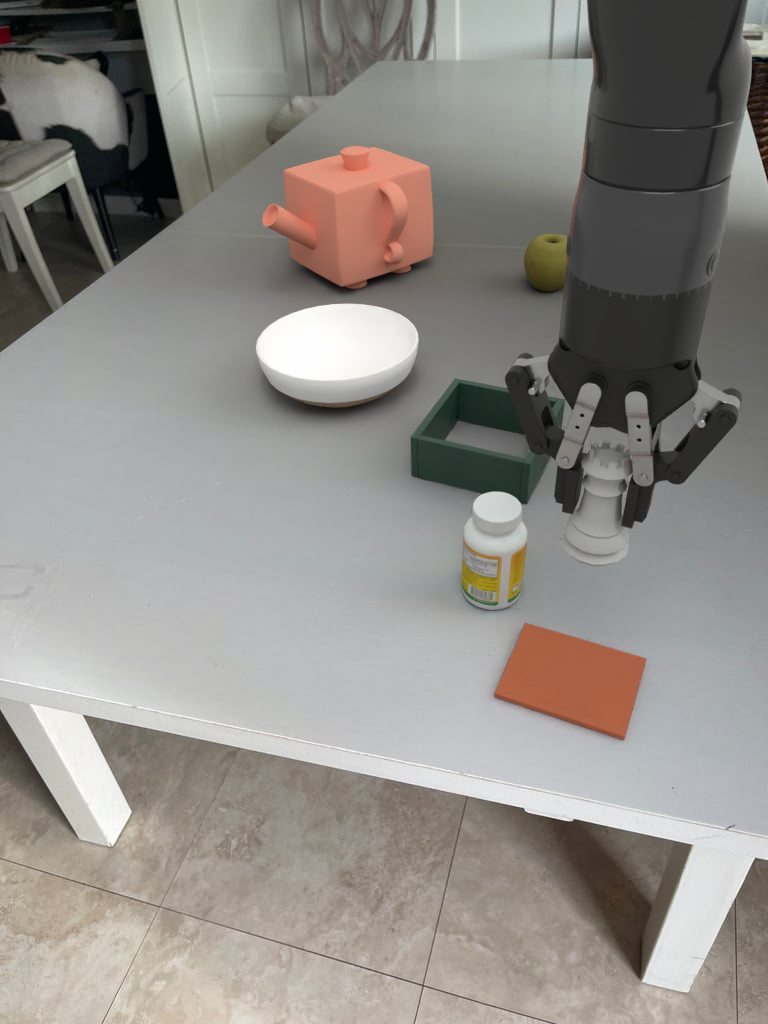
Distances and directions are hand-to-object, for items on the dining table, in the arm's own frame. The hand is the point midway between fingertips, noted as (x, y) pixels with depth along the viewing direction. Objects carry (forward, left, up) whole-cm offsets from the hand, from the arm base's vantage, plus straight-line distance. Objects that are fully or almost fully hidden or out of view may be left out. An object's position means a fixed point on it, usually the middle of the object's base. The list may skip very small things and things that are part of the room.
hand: (599, 512), depth 53 cm
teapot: (+53, -64, -17) cm, 85 cm away
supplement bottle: (+9, -7, -17) cm, 21 cm away
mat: (0, 0, -17) cm, 17 cm away
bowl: (+38, -34, -17) cm, 54 cm away
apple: (+22, -70, -17) cm, 75 cm away
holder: (+16, -26, -17) cm, 35 cm away
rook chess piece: (0, 0, -3) cm, 3 cm away
